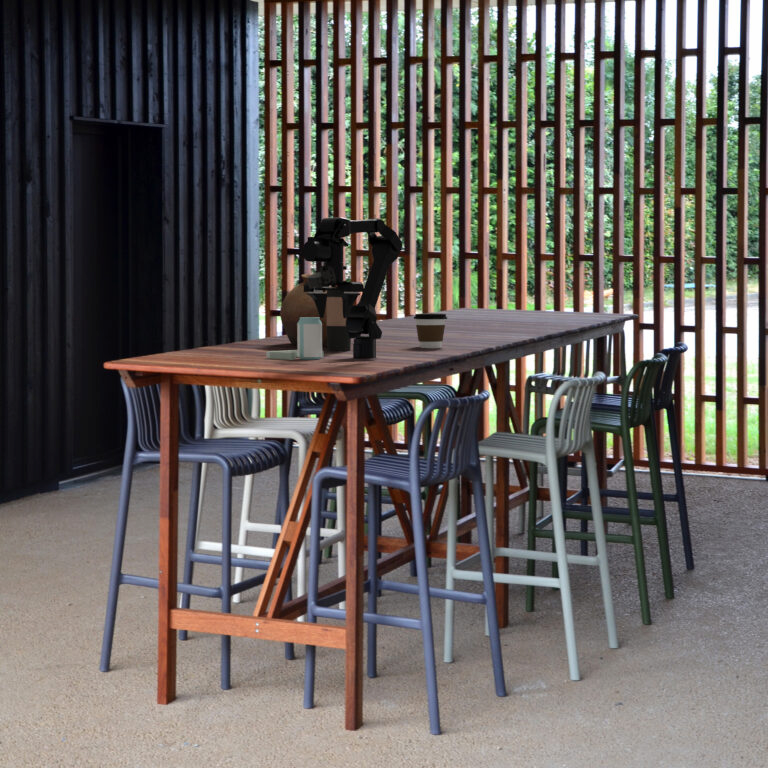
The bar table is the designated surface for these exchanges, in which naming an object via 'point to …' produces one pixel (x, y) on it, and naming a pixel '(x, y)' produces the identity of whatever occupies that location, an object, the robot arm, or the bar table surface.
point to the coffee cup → (430, 329)
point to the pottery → (300, 311)
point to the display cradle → (284, 354)
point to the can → (309, 338)
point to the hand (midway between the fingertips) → (333, 318)
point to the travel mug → (336, 323)
